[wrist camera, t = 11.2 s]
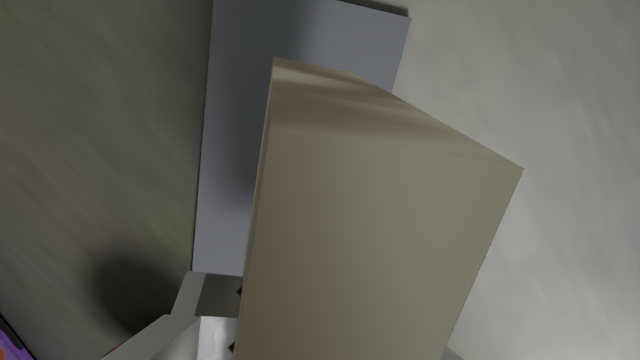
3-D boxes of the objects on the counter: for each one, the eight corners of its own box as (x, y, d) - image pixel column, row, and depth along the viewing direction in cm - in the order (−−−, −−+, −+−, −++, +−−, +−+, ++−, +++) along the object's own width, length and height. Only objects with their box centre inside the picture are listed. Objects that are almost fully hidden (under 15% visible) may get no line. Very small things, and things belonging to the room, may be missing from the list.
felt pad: (408, 18, 17) (411, 18, 17) (334, 296, 23) (334, 300, 23) (216, -27, 15) (215, -29, 15) (192, 284, 22) (190, 288, 21)
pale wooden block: (352, 72, 13) (523, 168, 4) (297, 317, 18) (322, 626, 9) (273, 56, 13) (270, 127, 4) (236, 313, 17) (193, 639, 8)
